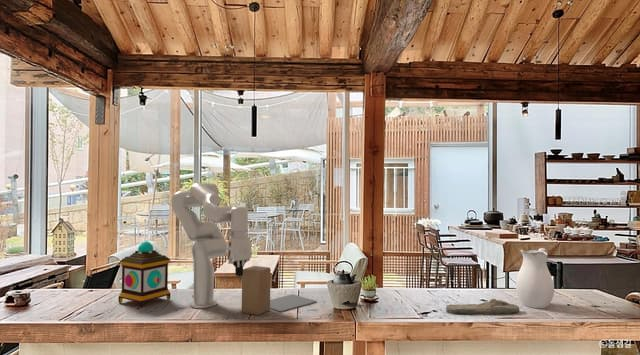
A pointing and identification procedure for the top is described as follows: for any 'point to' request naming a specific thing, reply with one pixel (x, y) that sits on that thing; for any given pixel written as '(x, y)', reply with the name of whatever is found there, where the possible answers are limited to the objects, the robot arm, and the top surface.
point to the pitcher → (534, 280)
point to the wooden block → (256, 290)
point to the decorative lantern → (144, 275)
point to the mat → (289, 302)
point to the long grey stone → (483, 308)
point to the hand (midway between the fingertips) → (239, 275)
